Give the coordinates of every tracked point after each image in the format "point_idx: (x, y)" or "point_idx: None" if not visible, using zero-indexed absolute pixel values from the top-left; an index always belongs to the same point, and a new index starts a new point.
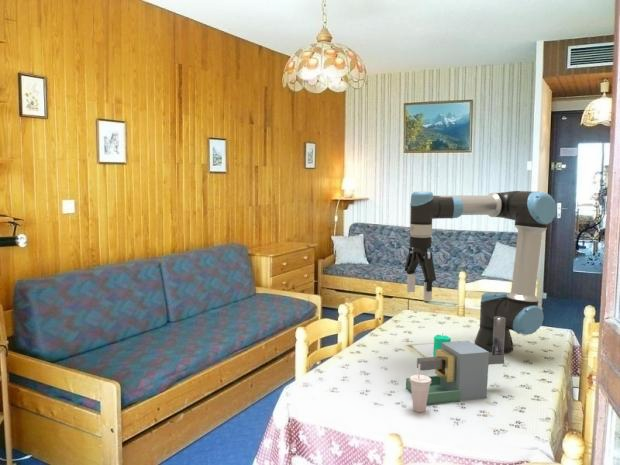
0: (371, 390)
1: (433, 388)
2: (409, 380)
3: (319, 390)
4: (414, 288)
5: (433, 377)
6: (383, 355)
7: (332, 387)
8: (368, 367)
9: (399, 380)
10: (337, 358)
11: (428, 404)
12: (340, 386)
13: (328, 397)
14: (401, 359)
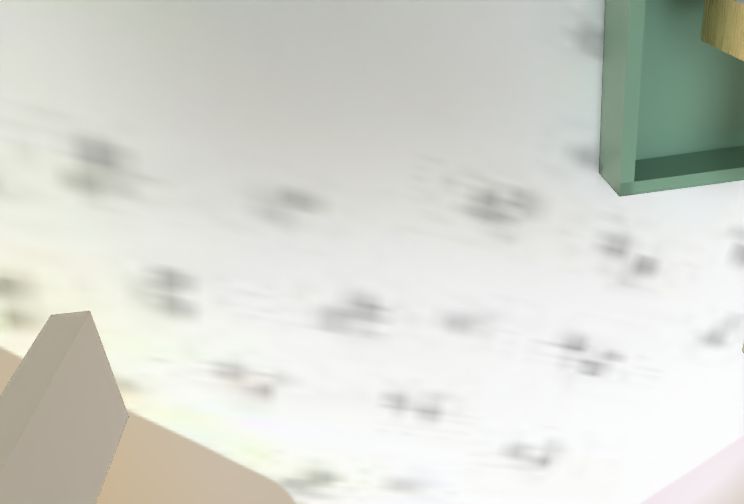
0: (577, 328)
1: (670, 30)
2: (655, 188)
3: (526, 498)
4: (72, 358)
5: (642, 22)
6: (51, 155)
7: (507, 457)
8: (273, 283)
9: (484, 173)
10: (133, 398)
11: None
12: (503, 431)
13: (600, 479)
14: (123, 58)
